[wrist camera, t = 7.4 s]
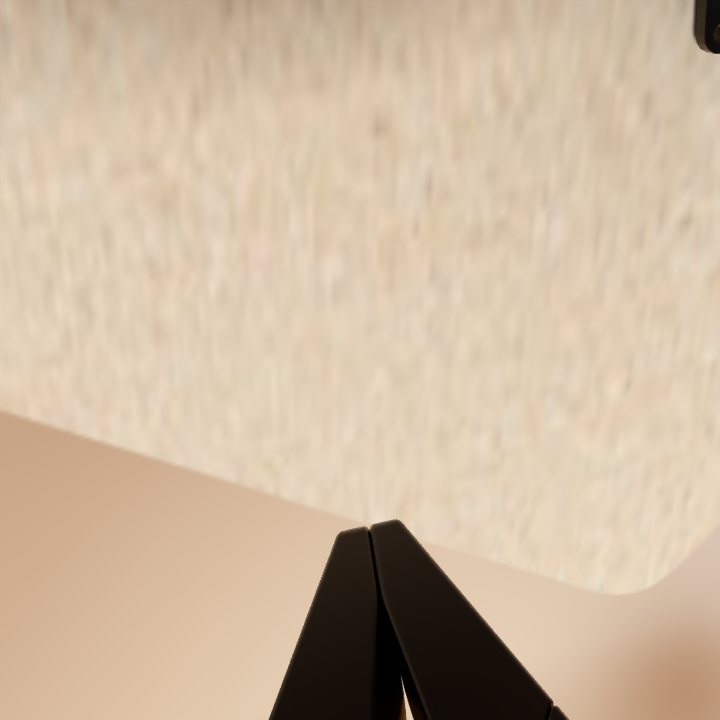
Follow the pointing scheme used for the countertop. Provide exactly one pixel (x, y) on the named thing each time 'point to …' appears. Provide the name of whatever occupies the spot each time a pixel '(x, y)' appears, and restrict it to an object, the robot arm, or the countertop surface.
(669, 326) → the countertop surface
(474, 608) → the robot arm
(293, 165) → the countertop surface
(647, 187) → the countertop surface
